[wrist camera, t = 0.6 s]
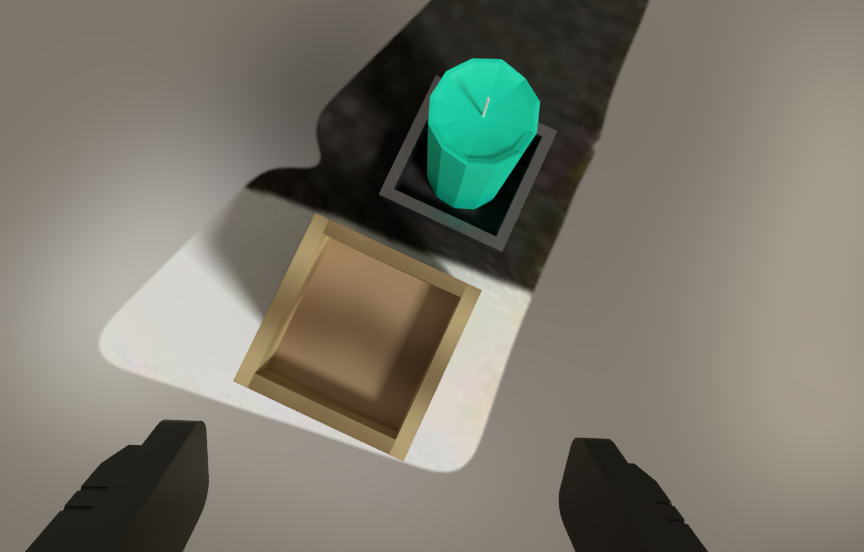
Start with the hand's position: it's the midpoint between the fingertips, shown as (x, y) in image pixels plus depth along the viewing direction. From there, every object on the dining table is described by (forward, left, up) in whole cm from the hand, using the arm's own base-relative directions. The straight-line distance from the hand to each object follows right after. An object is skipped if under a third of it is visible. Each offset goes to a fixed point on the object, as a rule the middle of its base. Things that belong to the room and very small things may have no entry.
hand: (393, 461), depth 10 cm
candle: (-14, -2, -23) cm, 27 cm away
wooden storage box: (-1, -3, -23) cm, 23 cm away
